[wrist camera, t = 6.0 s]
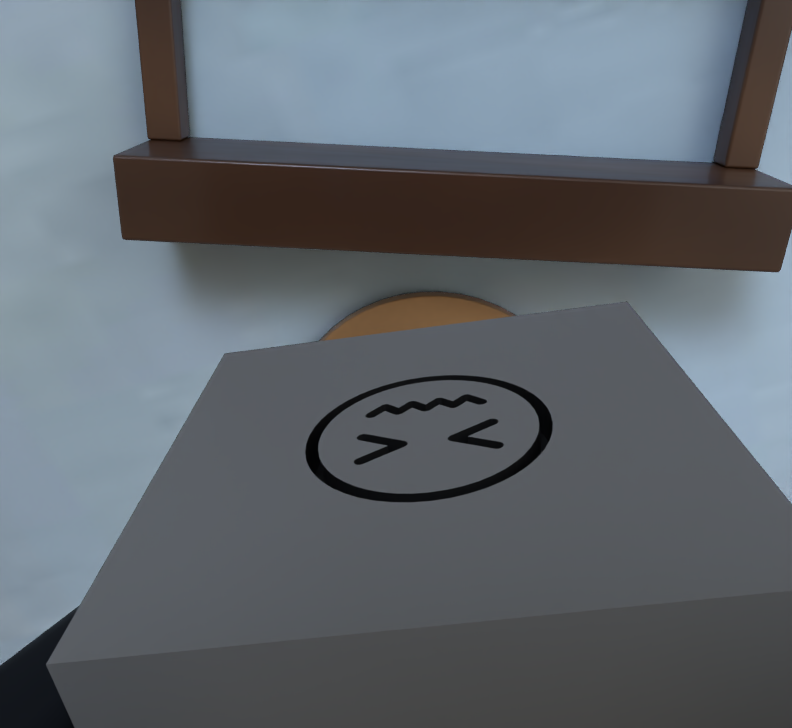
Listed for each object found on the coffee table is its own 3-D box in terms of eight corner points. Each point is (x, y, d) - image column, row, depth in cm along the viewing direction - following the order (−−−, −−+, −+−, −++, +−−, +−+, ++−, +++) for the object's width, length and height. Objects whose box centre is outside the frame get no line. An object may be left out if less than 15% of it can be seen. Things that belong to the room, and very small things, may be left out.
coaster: (552, 544, 23) (554, 553, 22) (292, 531, 23) (290, 539, 22) (593, 298, 19) (596, 304, 19) (288, 283, 19) (286, 288, 19)
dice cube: (302, 649, 11) (229, 1070, 7) (225, 353, 9) (45, 664, 5) (632, 618, 11) (794, 1038, 6) (627, 300, 9) (857, 583, 4)
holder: (727, 237, 19) (781, 273, 16) (164, 209, 19) (121, 240, 16) (846, -266, 14) (946, -335, 12) (119, -299, 14) (50, -375, 12)
